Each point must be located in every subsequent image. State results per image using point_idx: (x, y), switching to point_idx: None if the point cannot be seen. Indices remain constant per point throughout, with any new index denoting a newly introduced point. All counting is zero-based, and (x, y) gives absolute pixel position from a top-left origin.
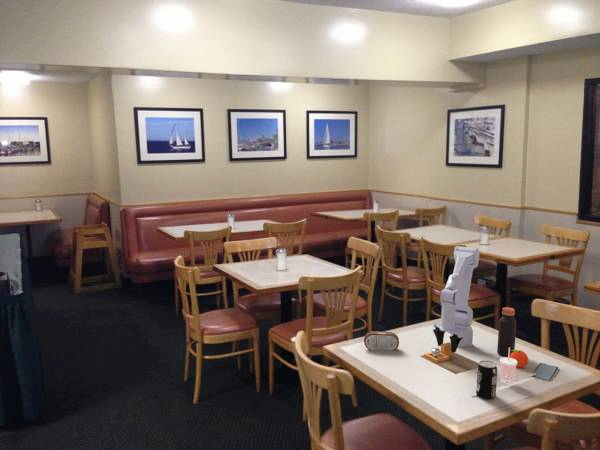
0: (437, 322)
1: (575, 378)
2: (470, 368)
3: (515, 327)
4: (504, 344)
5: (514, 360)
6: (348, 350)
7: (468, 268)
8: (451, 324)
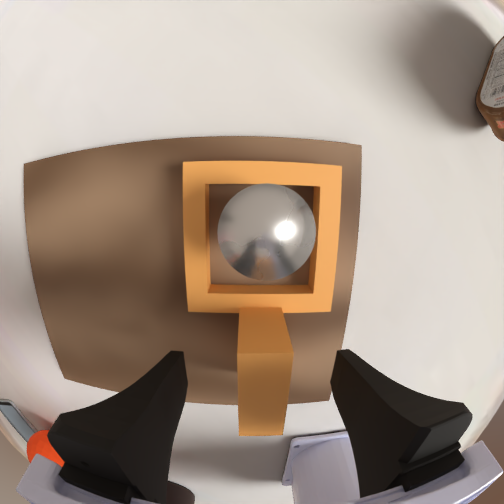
0: (469, 501)
1: (16, 441)
2: (45, 299)
3: None
4: None
5: None
6: (498, 14)
7: None
8: None
